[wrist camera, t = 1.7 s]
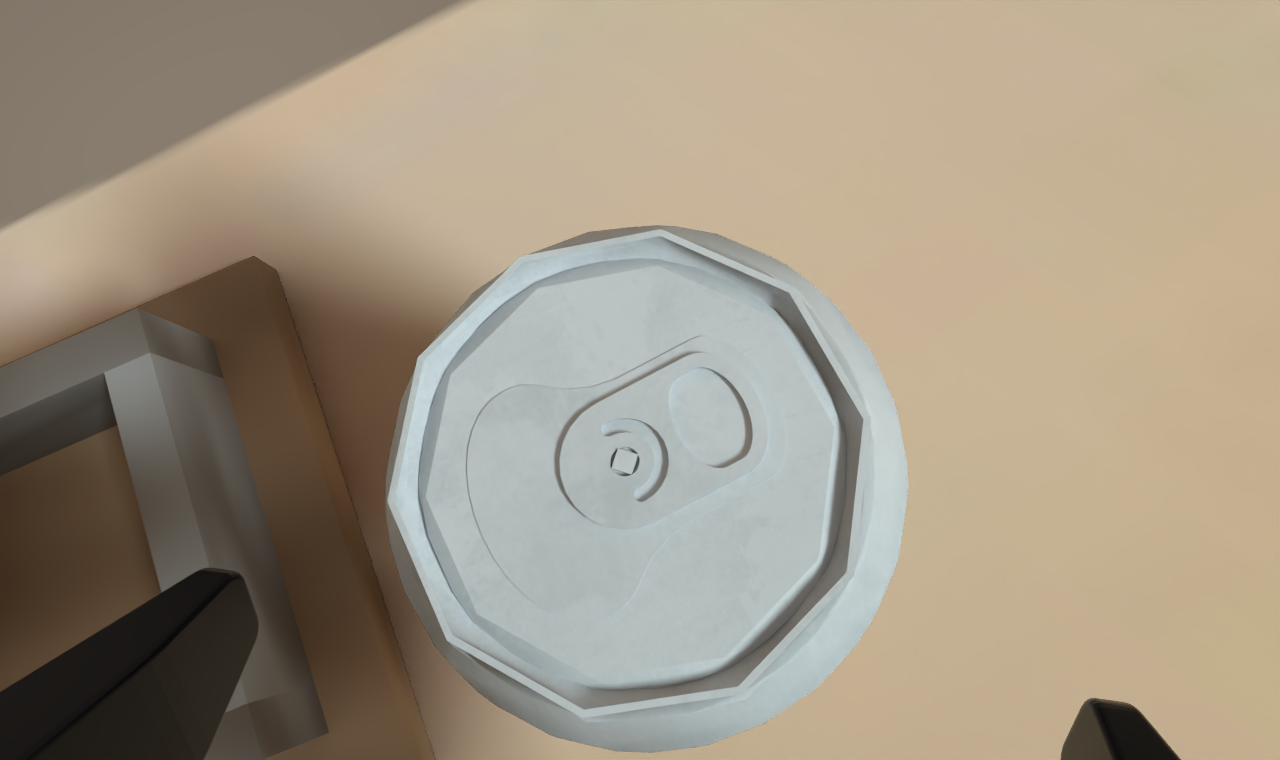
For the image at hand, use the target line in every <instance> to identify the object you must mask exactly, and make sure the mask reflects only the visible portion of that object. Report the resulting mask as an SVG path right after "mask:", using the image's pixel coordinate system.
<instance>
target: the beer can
mask: <svg viewBox="0 0 1280 760" xmlns="http://www.w3.org/2000/svg"><path fill="white" fill-rule="evenodd" d="M907 497H908V467H907V462H906V457H905V451H904V446H903V441H902V435H901V428H900V423H899V418H898V414H897V409H896V406H895V403H894V400H893V397H892V395H891V393H890V391H889V389H888V387H887V384H886V382H885V380H884V378H883V376H882V374H881V371H880V369H879V367H878V365H877V363H876V361H875V359H874V356H873V354H872V352H871V350H870V349H869V348H868V346H867V345H866V344H865V342H864V341H863V340H862V339H861V337H860V336H859V335H858V333H857V332H856V331H855V329H854V328H853V327H852V325H851V324H850V323H849V321H848V320H847V319H846V318H845V316H844V315H843V314H842V312H841V311H840V310H839V308H838V307H837V306H836V305H835V304H834V303H833V302H832V301H831V300H830V299H829V298H828V297H826V296H825V295H824V294H823V293H822V292H821V291H820V290H818V289H817V288H816V287H815V286H814V285H812V284H811V283H810V282H808V281H807V280H806V279H805V278H803V277H802V276H801V275H799V274H798V273H797V272H796V271H794V270H793V269H792V268H790V267H789V266H788V265H786V264H784V263H782V262H780V261H778V260H776V259H774V258H772V257H771V256H768V255H766V254H764V253H761V252H759V251H756V250H754V249H752V248H749V247H747V246H744V245H742V244H740V243H737V242H735V241H732V240H730V239H728V238H725V237H723V236H721V235H718V234H714V233H709V232H703V231H698V230H692V229H687V228H681V227H676V226H658V225H656V226H642V227H628V228H619V229H611V230H602V231H593V232H587V233H585V234H582V235H579V236H577V237H574V238H571V239H568V240H566V241H563V242H560V243H558V244H555V245H552V246H550V247H547V248H544V249H542V250H539V251H536V252H534V253H531V254H528V255H525V256H520V257H519V258H518V259H517V260H516V261H515V262H514V263H513V264H512V265H511V266H510V267H509V268H508V269H506V270H505V271H503V272H502V273H501V274H499V275H498V276H496V277H495V278H493V279H492V280H491V281H489V282H488V283H486V284H485V285H484V286H482V287H481V288H479V289H478V290H476V291H475V292H474V293H473V294H472V295H471V296H470V297H469V298H468V299H467V301H466V302H465V303H464V304H463V305H462V306H461V308H460V309H459V310H458V311H457V312H456V313H455V315H454V316H453V317H452V318H451V319H450V320H449V322H448V323H447V324H446V325H445V327H444V328H443V329H442V330H441V331H440V333H439V334H438V335H437V336H436V338H435V339H434V340H433V341H432V342H431V344H430V345H429V346H428V348H427V349H426V350H425V351H424V352H423V353H422V354H421V355H420V356H419V357H418V358H417V362H416V367H415V370H414V372H413V374H412V376H411V379H410V381H409V383H408V385H407V388H406V390H405V392H404V394H403V397H402V399H401V402H400V407H399V412H398V417H397V421H396V426H395V431H394V436H393V441H392V445H391V450H390V455H389V461H388V467H387V473H386V519H387V526H388V533H389V539H390V546H391V549H392V552H393V556H394V559H395V562H396V566H397V569H398V572H399V576H400V579H401V582H402V586H403V589H404V591H405V593H406V595H407V597H408V599H409V600H410V602H411V604H412V606H413V608H414V609H415V611H416V613H417V615H418V616H419V618H420V620H421V622H422V624H423V625H424V627H425V629H426V631H427V633H428V634H429V636H430V638H431V640H432V642H433V643H434V645H435V647H436V648H437V649H438V650H439V651H440V653H441V654H442V655H443V656H444V657H445V658H446V660H447V661H448V662H449V663H450V664H451V665H452V666H453V667H454V668H455V669H456V670H457V671H458V672H459V673H460V674H461V675H462V676H463V677H464V678H465V679H466V680H467V681H468V682H469V683H470V684H471V685H472V687H473V688H474V689H475V690H476V691H477V692H478V693H480V694H481V695H483V696H484V697H485V698H487V699H488V700H490V701H491V702H492V703H494V704H495V705H496V706H498V707H500V708H501V709H503V710H505V711H507V712H509V713H511V714H513V715H514V716H516V717H518V718H520V719H522V720H524V721H525V722H527V723H529V724H531V725H533V726H535V727H536V728H538V729H540V730H542V731H544V732H546V733H548V734H549V735H552V736H555V737H557V738H561V739H565V740H570V741H574V742H578V743H582V744H586V745H591V746H595V747H600V748H604V749H608V750H613V751H621V752H648V753H652V752H661V751H669V750H678V749H686V748H694V747H700V746H705V745H710V744H712V743H715V742H717V741H720V740H723V739H725V738H728V737H730V736H733V735H736V734H738V733H741V732H743V731H746V730H748V729H751V728H754V727H756V726H759V725H761V724H764V723H766V722H768V721H769V720H770V719H772V718H773V717H775V716H776V715H778V714H779V713H781V712H782V711H784V710H785V709H787V708H788V707H790V706H791V705H793V704H794V703H796V702H797V701H799V700H800V699H802V698H803V697H805V696H806V695H808V694H809V693H811V692H812V691H813V690H815V689H816V688H817V687H818V686H819V685H820V684H821V683H822V682H823V681H824V680H825V679H826V678H827V677H828V676H829V675H830V674H831V673H832V671H833V670H834V669H835V668H836V667H837V666H838V665H839V664H840V663H841V662H842V660H843V659H844V658H845V657H846V656H847V655H848V654H849V653H850V652H851V651H852V649H853V648H854V647H855V646H856V645H857V643H858V642H859V640H860V638H861V637H862V635H863V634H864V632H865V631H866V629H867V627H868V626H869V624H870V623H871V621H872V620H873V618H874V616H875V614H876V612H877V609H878V607H879V604H880V603H881V601H882V599H883V597H884V595H885V593H886V590H887V587H888V585H889V582H890V580H891V577H892V574H893V572H894V569H895V567H896V564H897V562H898V558H899V552H900V545H901V538H902V531H903V524H904V517H905V511H906V504H907Z"/></svg>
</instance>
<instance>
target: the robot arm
mask: <svg viewBox="0 0 1280 760" xmlns="http://www.w3.org/2000/svg"><path fill="white" fill-rule="evenodd" d="M258 631H259V619H258V616H257V613H256V610H255V607H254V604H253V601H252V598H251V596H250V593H249V590H248V587H247V584H246V581H245V579H244V577H243V576H242V575H241V574H240V573H239V572H236V571H232V570H225V569H218V568H203V569H200V570H198V571H196V572H194V573H193V574H191V575H189V576H188V577H186V578H184V579H183V580H181V581H180V582H178V583H176V584H175V585H173V586H171V587H170V588H168V589H167V590H165V591H163V592H162V593H160V594H158V595H157V596H155V597H154V598H152V599H150V600H149V601H147V602H145V603H144V604H142V605H141V606H139V607H137V608H136V609H134V610H132V611H131V612H129V613H128V614H126V615H124V616H123V617H121V618H119V619H118V620H116V621H115V622H113V623H111V624H110V625H108V626H106V627H105V628H103V629H102V630H100V631H98V632H97V633H95V634H93V635H92V636H90V637H89V638H87V639H85V640H84V641H82V642H80V643H79V644H77V645H76V646H74V647H72V648H71V649H69V650H67V651H66V652H64V653H62V654H61V655H59V656H58V657H56V658H54V659H53V660H51V661H49V662H48V663H46V664H45V665H43V666H41V667H40V668H38V669H36V670H35V671H33V672H32V673H30V674H28V675H27V676H25V677H23V678H22V679H20V680H19V681H17V682H15V683H14V684H12V685H10V686H9V687H7V688H6V689H4V690H2V691H1V692H0V760H205V757H206V755H207V753H208V751H209V749H210V747H211V744H212V742H213V740H214V737H215V735H216V733H217V731H218V728H219V726H220V724H221V721H222V719H223V717H224V714H225V712H226V710H227V707H228V705H229V703H230V700H231V698H232V696H233V693H234V691H235V689H236V687H237V684H238V682H239V680H240V677H241V675H242V673H243V670H244V668H245V666H246V663H247V661H248V659H249V656H250V654H251V652H252V649H253V647H254V645H255V642H256V639H257V636H258ZM1061 760H1181V759H1180V758H1179V757H1178V756H1177V755H1176V753H1175V752H1174V751H1173V750H1172V749H1171V747H1170V746H1169V745H1168V744H1167V743H1166V741H1165V740H1164V739H1163V738H1162V737H1161V736H1160V734H1159V733H1158V732H1157V731H1156V730H1155V728H1154V727H1153V726H1152V725H1151V724H1150V722H1149V721H1148V720H1147V719H1146V718H1145V717H1144V715H1143V714H1142V713H1141V712H1140V711H1139V710H1138V709H1137V708H1135V707H1134V706H1132V705H1131V704H1128V703H1125V702H1118V701H1111V700H1105V699H1098V698H1090V699H1088V700H1087V701H1085V702H1084V704H1083V705H1082V707H1081V709H1080V711H1079V713H1078V715H1077V717H1076V719H1075V721H1074V724H1073V726H1072V728H1071V730H1070V732H1069V734H1068V736H1067V738H1066V740H1065V742H1064V745H1063V748H1062V753H1061Z"/></svg>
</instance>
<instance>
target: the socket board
mask: <svg viewBox="0 0 1280 760" xmlns="http://www.w3.org/2000/svg"><path fill="white" fill-rule="evenodd" d="M203 568H218V569H225V570H232V571H236V572H239V573H240V574H241V575H242V576H243V577H244V579H245V581H246V584H247V587H248V590H249V593H250V596H251V598H252V601H253V604H254V607H255V610H256V613H257V616H258V619H259V631H258V636H257V639H256V642H255V645H254V647H253V649H252V652H251V654H250V656H249V659H248V661H247V663H246V666H245V668H244V670H243V673H242V675H241V677H240V680H239V682H238V684H237V687H236V689H235V691H234V693H233V696H232V698H231V700H230V703H229V705H228V707H227V710H226V712H225V714H224V717H223V719H222V721H221V724H220V726H219V728H218V731H217V733H216V735H215V737H214V740H213V742H212V744H211V747H210V749H209V751H208V753H207V755H206V757H205V760H435V757H434V754H433V751H432V748H431V745H430V742H429V739H428V736H427V733H426V730H425V727H424V724H423V720H422V717H421V714H420V711H419V708H418V705H417V702H416V699H415V696H414V693H413V690H412V687H411V683H410V680H409V677H408V674H407V671H406V668H405V665H404V662H403V659H402V656H401V653H400V649H399V646H398V643H397V640H396V637H395V634H394V631H393V628H392V625H391V622H390V619H389V616H388V612H387V609H386V606H385V603H384V600H383V597H382V594H381V591H380V588H379V585H378V582H377V579H376V575H375V572H374V569H373V566H372V563H371V560H370V557H369V554H368V551H367V548H366V545H365V541H364V538H363V535H362V532H361V529H360V526H359V523H358V520H357V517H356V514H355V511H354V508H353V504H352V501H351V498H350V495H349V492H348V489H347V486H346V483H345V480H344V477H343V474H342V471H341V467H340V464H339V461H338V458H337V455H336V452H335V449H334V446H333V443H332V440H331V437H330V434H329V430H328V427H327V424H326V421H325V418H324V415H323V412H322V409H321V406H320V403H319V400H318V396H317V393H316V390H315V387H314V384H313V381H312V378H311V375H310V372H309V369H308V366H307V363H306V359H305V356H304V353H303V350H302V347H301V344H300V341H299V338H298V335H297V332H296V329H295V326H294V322H293V319H292V316H291V313H290V310H289V307H288V304H287V301H286V298H285V295H284V292H283V288H282V285H281V282H280V279H279V276H278V273H277V270H276V269H274V268H272V267H271V266H269V265H268V264H266V263H265V262H263V261H261V260H260V259H258V258H257V257H255V256H252V257H250V258H248V259H246V260H243V261H241V262H239V263H236V264H234V265H232V266H230V267H227V268H225V269H223V270H220V271H218V272H216V273H214V274H211V275H209V276H207V277H205V278H202V279H200V280H198V281H195V282H193V283H191V284H189V285H186V286H184V287H182V288H179V289H177V290H175V291H173V292H170V293H168V294H166V295H163V296H161V297H159V298H157V299H154V300H152V301H150V302H148V303H145V304H143V305H141V306H138V307H136V308H134V309H132V310H129V311H127V312H125V313H122V314H120V315H118V316H116V317H113V318H111V319H109V320H106V321H104V322H102V323H100V324H97V325H95V326H93V327H91V328H88V329H86V330H84V331H81V332H79V333H77V334H75V335H72V336H70V337H68V338H65V339H63V340H61V341H59V342H56V343H54V344H52V345H49V346H47V347H45V348H43V349H40V350H38V351H36V352H34V353H31V354H29V355H27V356H24V357H22V358H20V359H18V360H15V361H13V362H11V363H8V364H6V365H4V366H2V367H0V692H1V691H2V690H4V689H6V688H7V687H9V686H10V685H12V684H14V683H15V682H17V681H19V680H20V679H22V678H23V677H25V676H27V675H28V674H30V673H32V672H33V671H35V670H36V669H38V668H40V667H41V666H43V665H45V664H46V663H48V662H49V661H51V660H53V659H54V658H56V657H58V656H59V655H61V654H62V653H64V652H66V651H67V650H69V649H71V648H72V647H74V646H76V645H77V644H79V643H80V642H82V641H84V640H85V639H87V638H89V637H90V636H92V635H93V634H95V633H97V632H98V631H100V630H102V629H103V628H105V627H106V626H108V625H110V624H111V623H113V622H115V621H116V620H118V619H119V618H121V617H123V616H124V615H126V614H128V613H129V612H131V611H132V610H134V609H136V608H137V607H139V606H141V605H142V604H144V603H145V602H147V601H149V600H150V599H152V598H154V597H155V596H157V595H158V594H160V593H162V592H163V591H165V590H167V589H168V588H170V587H171V586H173V585H175V584H176V583H178V582H180V581H181V580H183V579H184V578H186V577H188V576H189V575H191V574H193V573H194V572H196V571H198V570H200V569H203Z"/></svg>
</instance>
